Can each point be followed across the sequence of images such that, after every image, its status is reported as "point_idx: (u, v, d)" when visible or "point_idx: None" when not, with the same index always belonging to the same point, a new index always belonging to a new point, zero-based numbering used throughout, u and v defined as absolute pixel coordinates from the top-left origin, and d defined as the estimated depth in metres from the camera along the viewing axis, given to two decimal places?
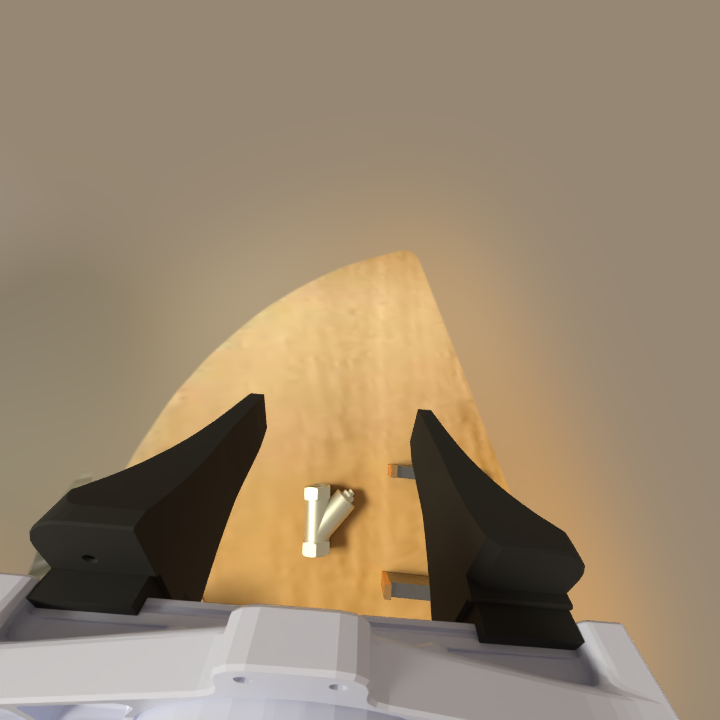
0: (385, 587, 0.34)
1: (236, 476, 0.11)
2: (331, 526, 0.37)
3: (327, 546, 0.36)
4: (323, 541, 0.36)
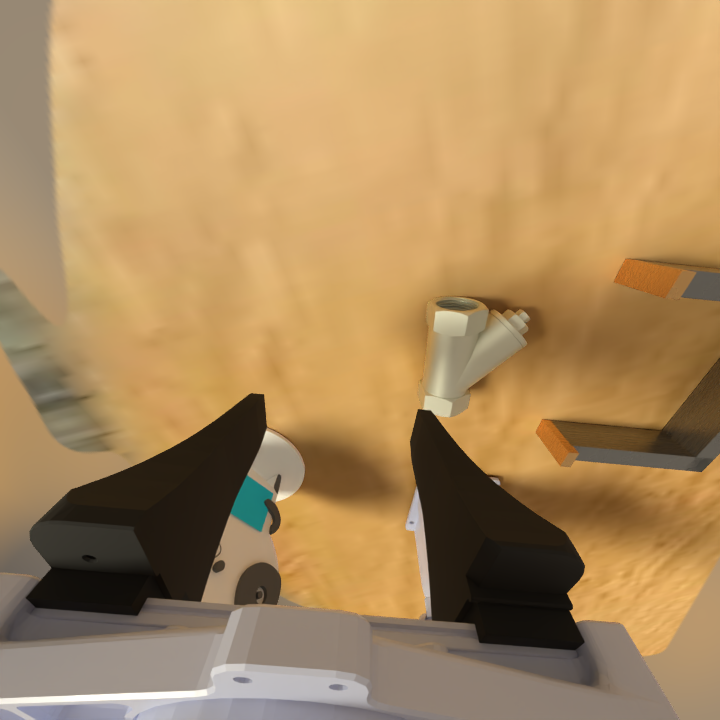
0: (567, 454, 0.22)
1: (236, 476, 0.11)
2: (480, 376, 0.20)
3: (466, 400, 0.21)
4: (462, 395, 0.20)
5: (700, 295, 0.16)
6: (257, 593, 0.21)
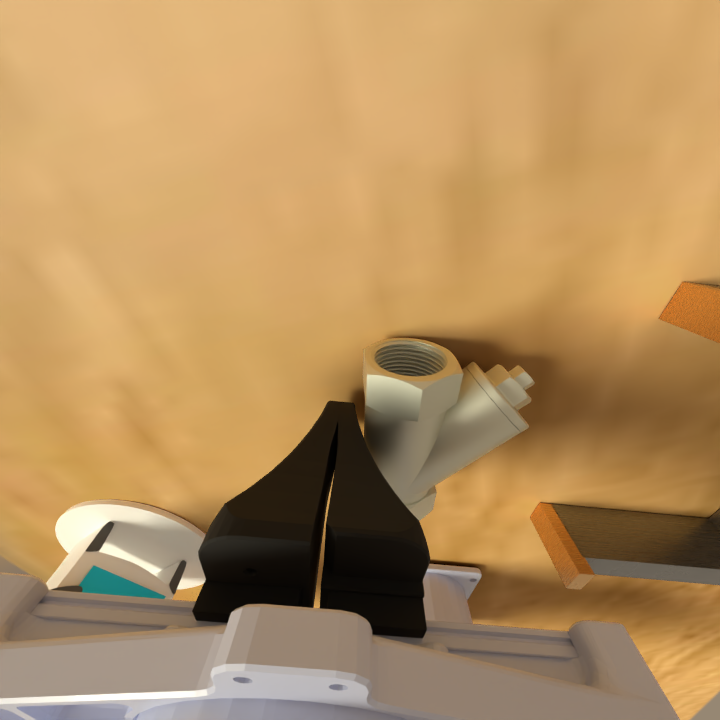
0: (576, 575, 0.14)
1: (328, 484, 0.11)
2: (450, 474, 0.12)
3: (430, 502, 0.13)
4: (422, 498, 0.13)
5: None
6: None
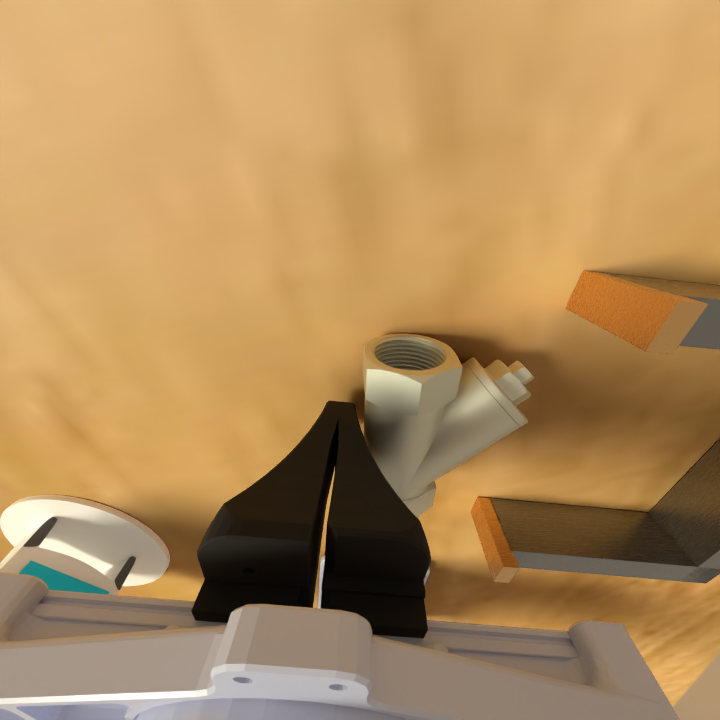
0: (502, 568, 0.14)
1: (328, 484, 0.11)
2: (450, 469, 0.12)
3: (429, 497, 0.13)
4: (422, 494, 0.13)
5: (712, 342, 0.09)
6: None
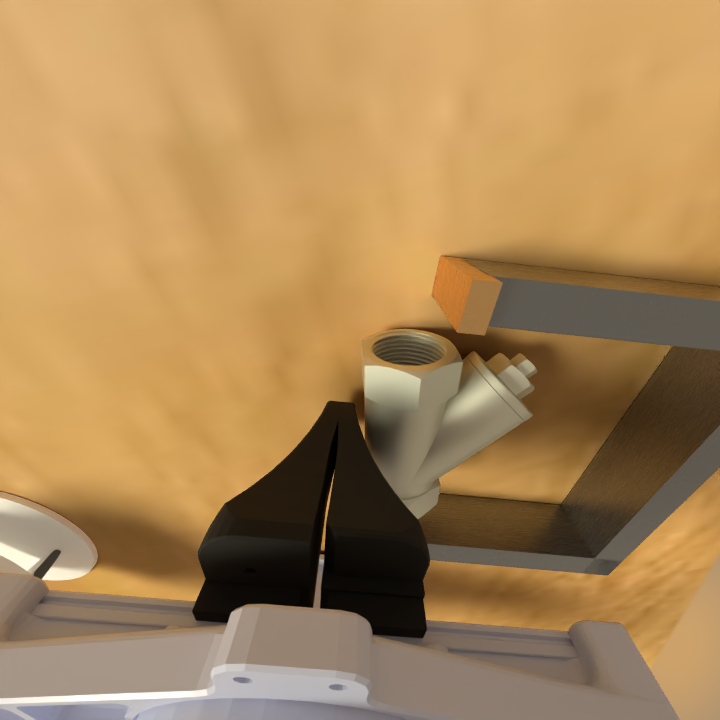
0: None
1: (328, 484, 0.11)
2: (454, 466, 0.11)
3: (434, 495, 0.13)
4: (425, 492, 0.12)
5: (538, 325, 0.09)
6: None
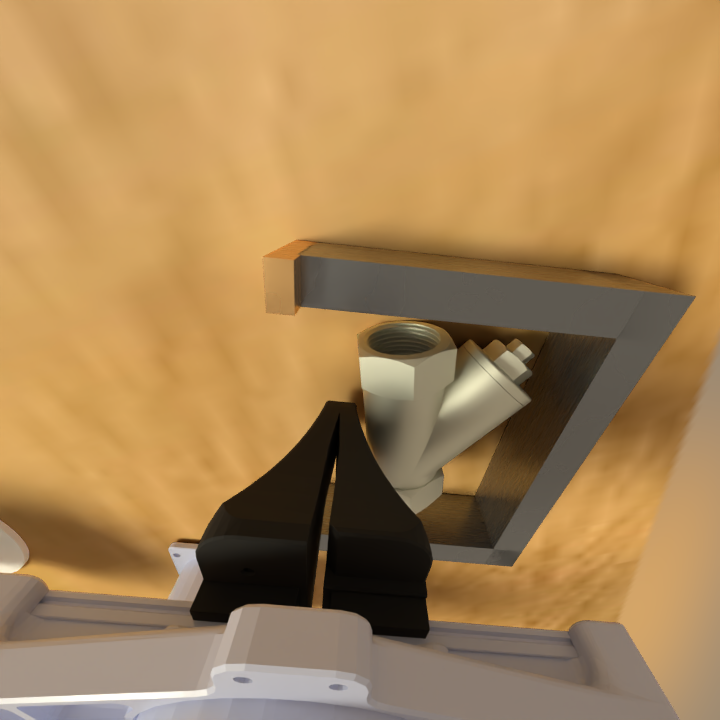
0: None
1: (327, 484, 0.11)
2: (455, 454, 0.11)
3: (438, 486, 0.13)
4: (429, 482, 0.12)
5: (363, 306, 0.09)
6: None
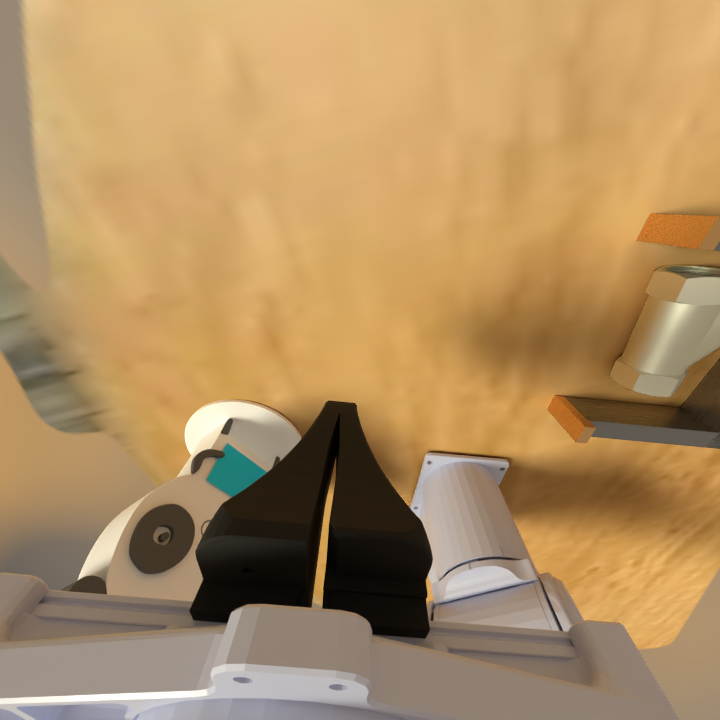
0: (583, 429, 0.21)
1: (327, 484, 0.11)
2: (714, 350, 0.18)
3: (683, 378, 0.19)
4: (684, 372, 0.19)
5: None
6: None
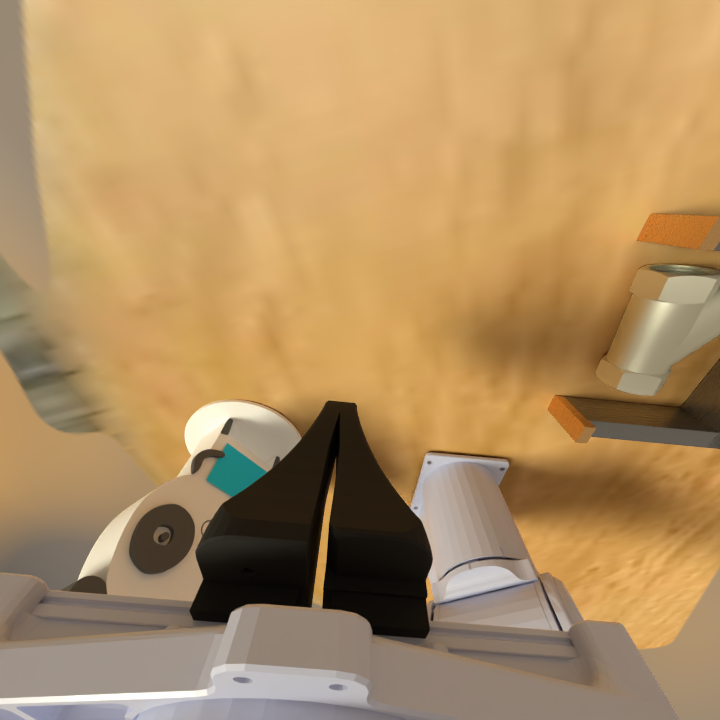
0: (583, 429, 0.21)
1: (327, 484, 0.11)
2: None
3: (667, 377, 0.19)
4: (668, 371, 0.19)
5: None
6: None
